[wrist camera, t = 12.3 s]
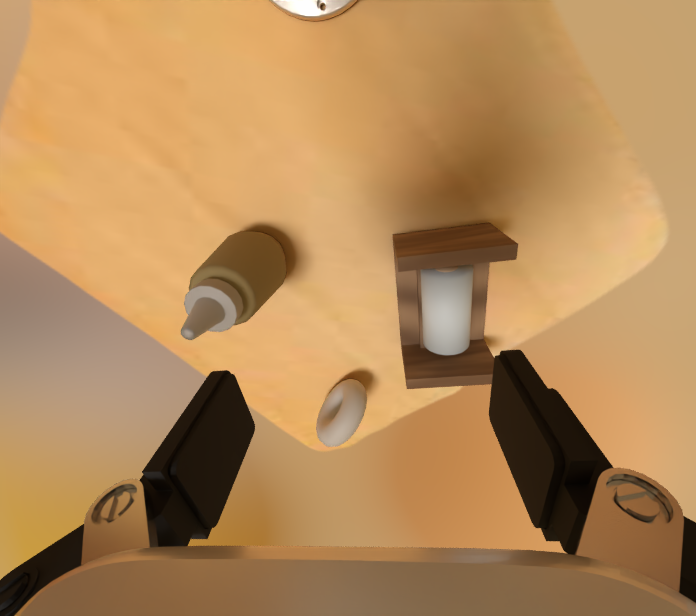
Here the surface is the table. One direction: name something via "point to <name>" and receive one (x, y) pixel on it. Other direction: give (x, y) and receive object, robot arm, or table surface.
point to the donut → (341, 413)
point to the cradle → (476, 360)
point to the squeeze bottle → (233, 283)
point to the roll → (447, 308)
